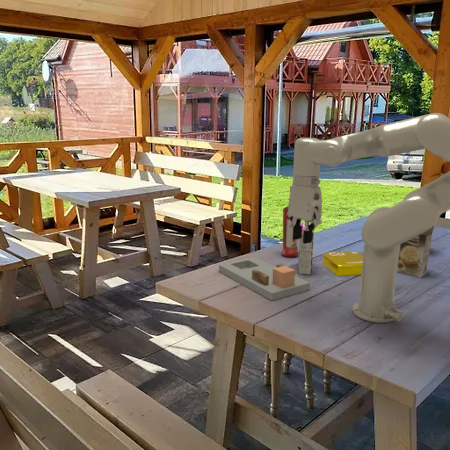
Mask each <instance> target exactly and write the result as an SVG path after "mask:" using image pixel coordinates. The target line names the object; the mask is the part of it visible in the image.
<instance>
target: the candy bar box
mask: <svg viewBox="0 0 450 450" xmlns="http://www.w3.org/2000/svg"><path fill="white" fill-rule="evenodd" d="M309 225H310V222H309ZM300 226H302V238H301V239H299V243H298V252H299V254H298V265H297V266H298V271H297V273H298V275H308V276H311V275H312V270H313V257H314V256H313V255H314V239H315V238H314V236H315V229H314V230H313V235H312V242H311V243H306V244H304V243H303V232H304V230H305V222H301V225H300Z"/></svg>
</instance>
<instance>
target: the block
mask: <svg viewBox="0 0 450 450" xmlns="http://www.w3.org/2000/svg"><path fill="white" fill-rule="evenodd" d="M295 276H296V270H295V269H294V268H291V267H288V266H286V265H284V266H282V267H277V268H273V282H272V283H274V284H276V285H278V286H279V287H281V288H284V287H288V286H292V285H294V282H295Z"/></svg>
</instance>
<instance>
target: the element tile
mask: <svg viewBox="0 0 450 450" xmlns="http://www.w3.org/2000/svg"><path fill="white" fill-rule="evenodd" d="M321 262H322V265H323V266H325V268H327V269H328V270H329V271H331V272H332V273H333V274H334V275H335V276H339V277H340V276H341V277H347V276H350V277H351V276H361V272H362V262H363V254H362V253H360V252H359V251H358V250H355V251H354V250H353V251H352V250H351V251H336V252H332V251H331V252H330V251H329V252H323V254H322V261H321Z"/></svg>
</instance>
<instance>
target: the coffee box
mask: <svg viewBox="0 0 450 450" xmlns="http://www.w3.org/2000/svg"><path fill="white" fill-rule="evenodd" d="M432 236H433V232H430V231H426V232H424V233H422V234H420V235H418V236H416V237H414V238H412V239H410V240H408V241H406V242H404V243H402V244H400V251H399V259H398V266H397V273H400V274H404V275H409V276H410V277H411V276H412V277H416V278H419V279H421V278H422V277H424V276H425V275H426V274H427V271H428V264H429V258H430V252H431V251H430V249H431V244H432V238H433V237H432Z"/></svg>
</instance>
